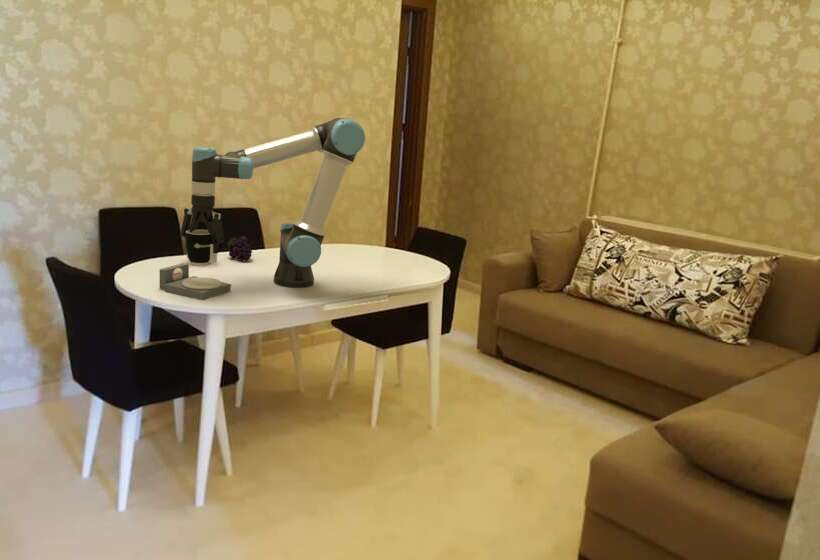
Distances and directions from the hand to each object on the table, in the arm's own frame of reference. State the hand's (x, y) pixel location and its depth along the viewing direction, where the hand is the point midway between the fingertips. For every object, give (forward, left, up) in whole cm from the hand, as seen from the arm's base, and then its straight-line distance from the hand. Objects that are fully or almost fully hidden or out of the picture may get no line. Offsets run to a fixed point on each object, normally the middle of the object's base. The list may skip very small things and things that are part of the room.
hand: (201, 259), depth 224 cm
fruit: (+20, -50, -12) cm, 55 cm away
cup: (+26, -32, -12) cm, 43 cm away
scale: (+3, 0, -11) cm, 12 cm away
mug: (-1, 0, 0) cm, 1 cm away
